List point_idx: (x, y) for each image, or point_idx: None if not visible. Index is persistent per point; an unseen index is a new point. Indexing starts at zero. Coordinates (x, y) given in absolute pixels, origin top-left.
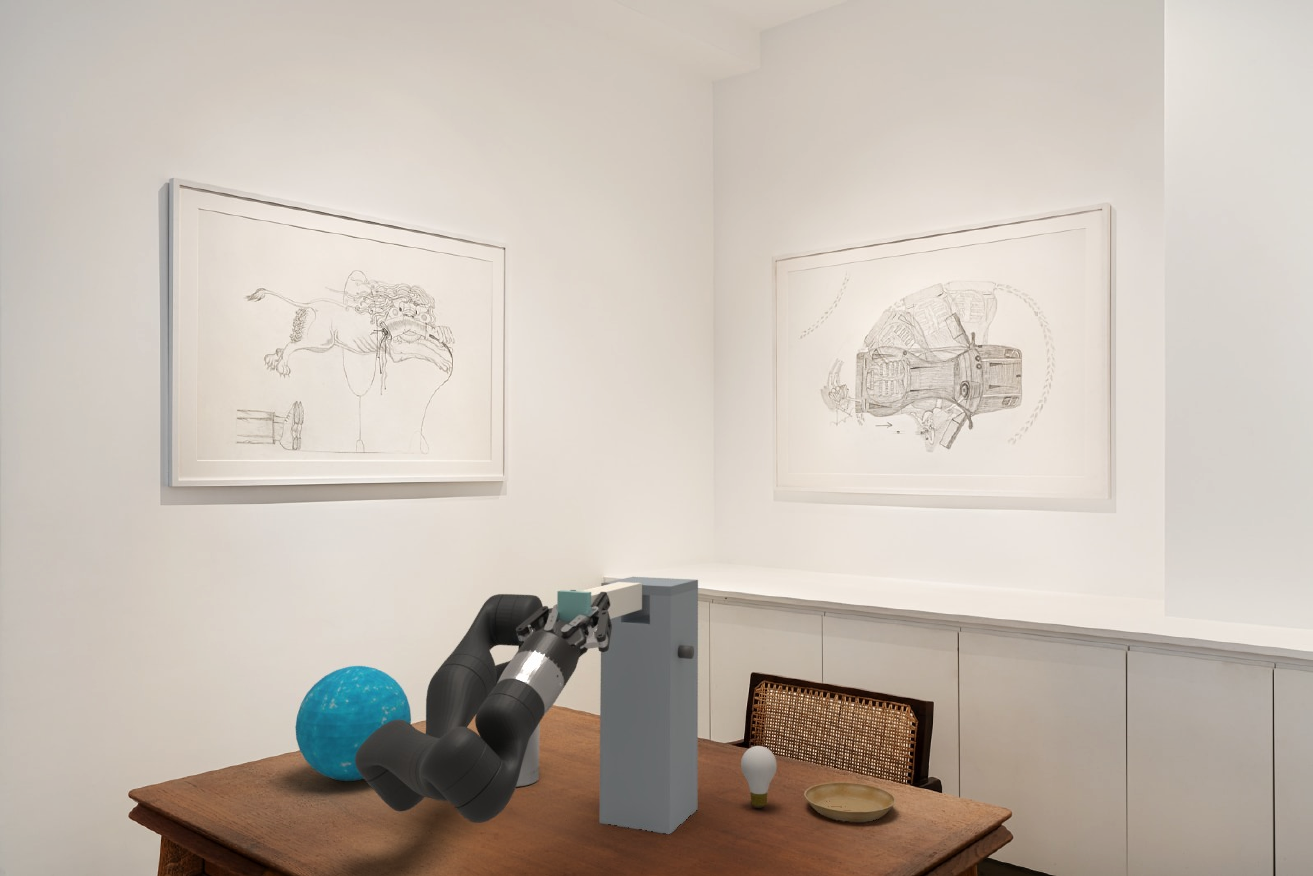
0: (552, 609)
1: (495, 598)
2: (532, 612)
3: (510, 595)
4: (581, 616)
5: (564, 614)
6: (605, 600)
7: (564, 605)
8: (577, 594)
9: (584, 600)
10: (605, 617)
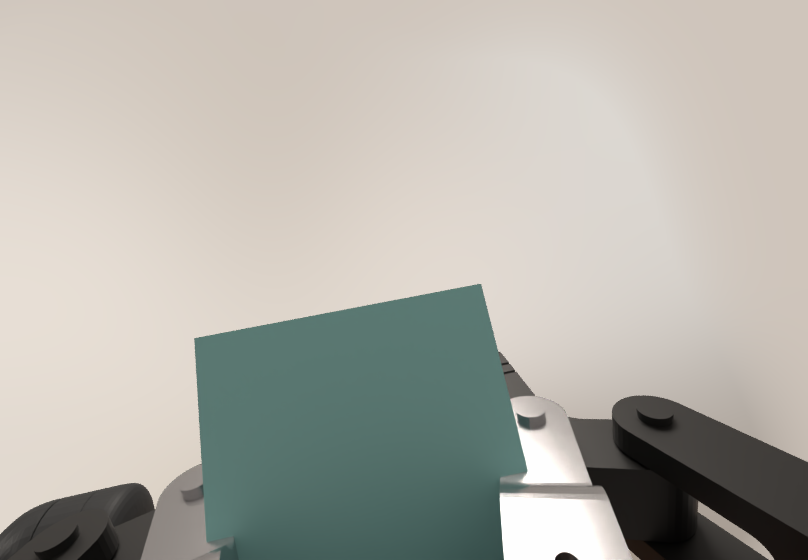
0: (151, 526)
1: (32, 514)
2: (125, 520)
3: (74, 497)
4: (556, 517)
5: (290, 544)
6: (504, 364)
7: (279, 451)
8: (395, 316)
9: (471, 352)
10: (751, 449)
